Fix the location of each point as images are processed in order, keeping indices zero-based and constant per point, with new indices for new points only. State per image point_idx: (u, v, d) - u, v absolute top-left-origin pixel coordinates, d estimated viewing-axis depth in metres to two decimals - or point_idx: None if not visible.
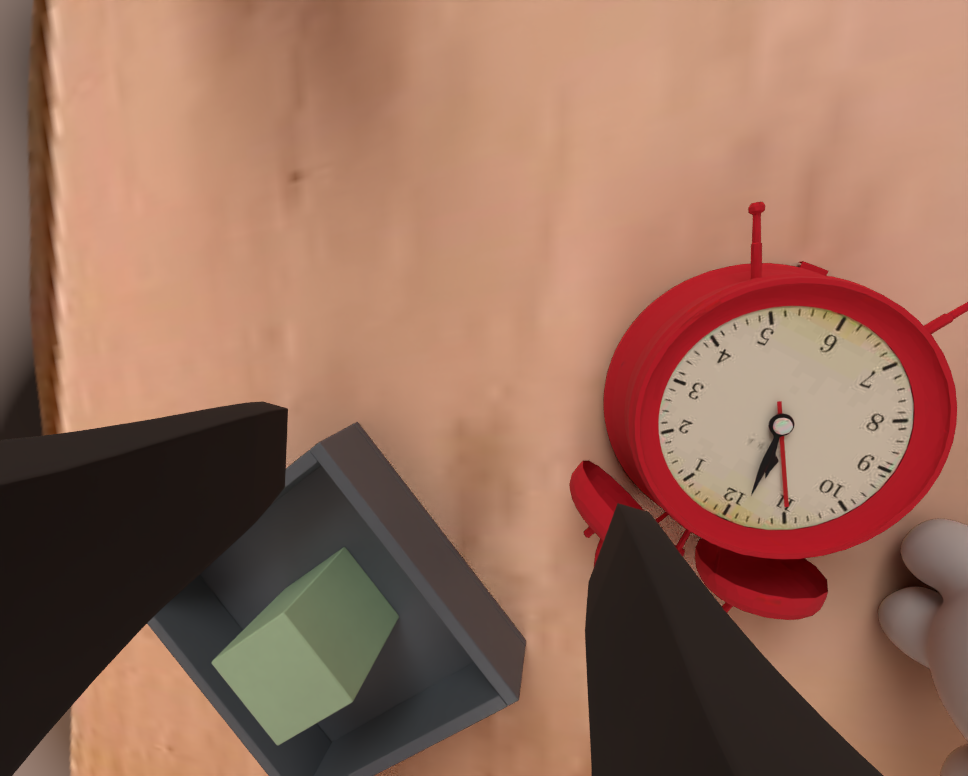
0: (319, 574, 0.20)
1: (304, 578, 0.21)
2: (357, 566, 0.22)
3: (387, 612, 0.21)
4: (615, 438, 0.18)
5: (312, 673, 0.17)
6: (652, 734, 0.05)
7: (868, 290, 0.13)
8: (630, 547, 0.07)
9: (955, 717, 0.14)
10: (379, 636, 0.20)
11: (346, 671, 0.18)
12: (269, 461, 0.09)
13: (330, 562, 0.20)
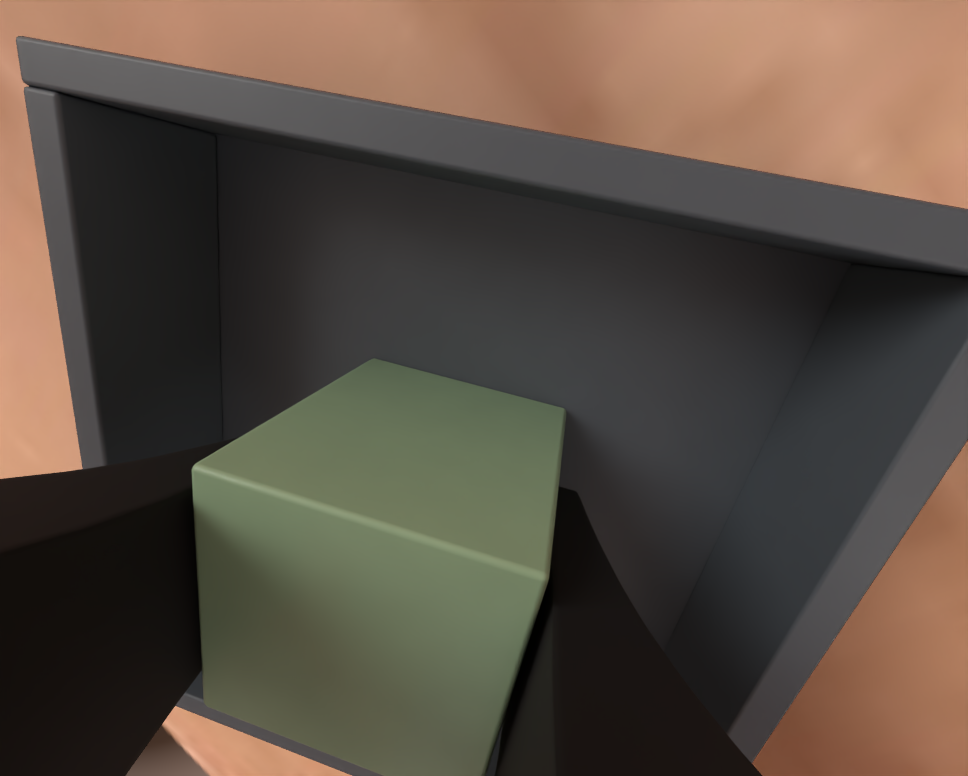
0: (314, 394, 0.08)
1: None
2: (417, 371, 0.10)
3: (532, 408, 0.09)
4: None
5: (386, 575, 0.05)
6: (529, 691, 0.05)
7: None
8: None
9: None
10: (539, 441, 0.08)
11: (482, 516, 0.05)
12: None
13: (342, 378, 0.09)
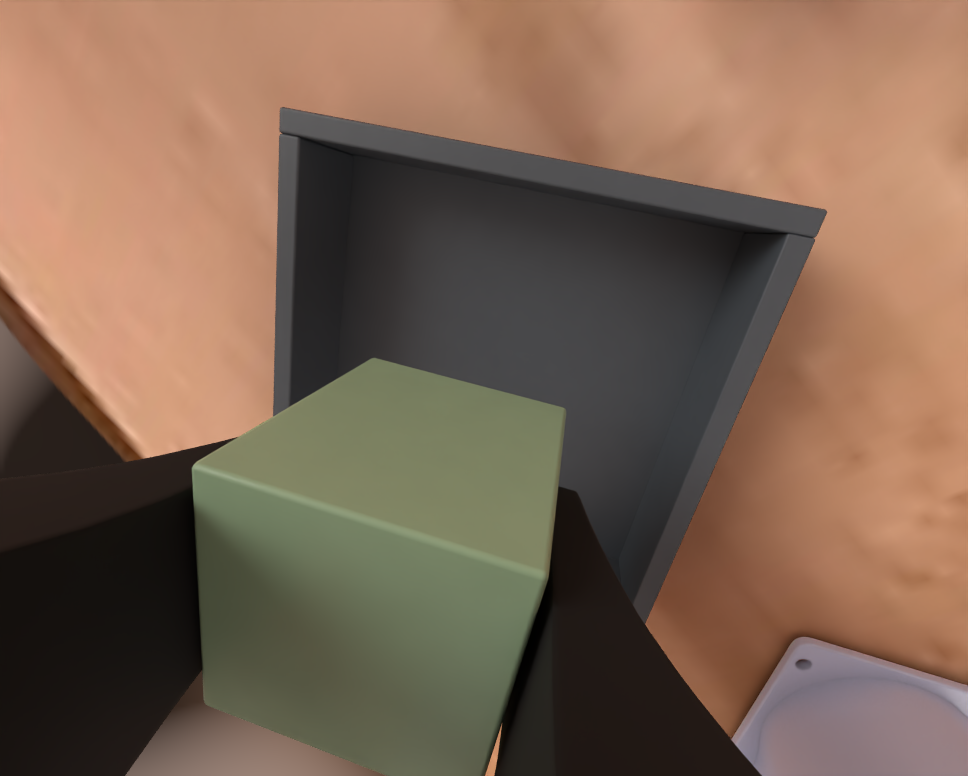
0: (314, 393, 0.08)
1: None
2: (416, 371, 0.10)
3: (531, 407, 0.09)
4: None
5: (385, 573, 0.05)
6: (529, 691, 0.05)
7: None
8: None
9: None
10: (538, 440, 0.08)
11: (481, 516, 0.05)
12: None
13: (342, 377, 0.09)
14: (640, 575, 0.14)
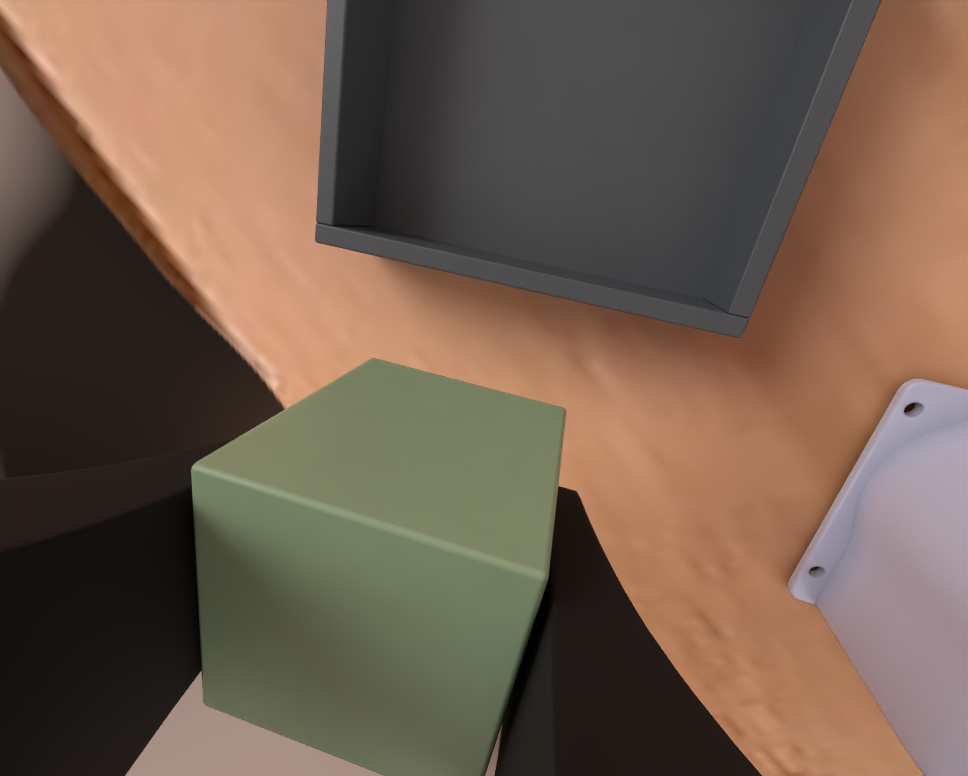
0: (314, 393, 0.08)
1: None
2: (416, 371, 0.10)
3: (531, 407, 0.09)
4: None
5: (385, 574, 0.05)
6: (529, 691, 0.05)
7: None
8: None
9: None
10: (538, 440, 0.08)
11: (481, 516, 0.05)
12: None
13: (342, 377, 0.09)
14: (748, 251, 0.12)
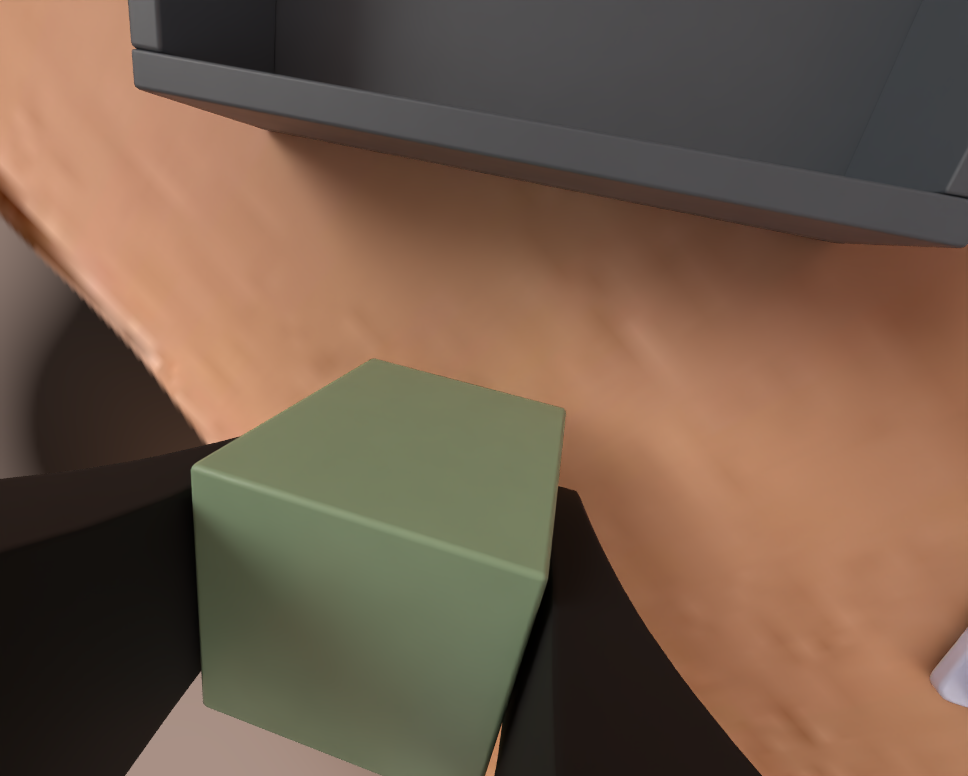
0: (314, 394, 0.08)
1: None
2: (416, 372, 0.10)
3: (531, 408, 0.09)
4: None
5: (385, 575, 0.05)
6: (529, 691, 0.05)
7: None
8: None
9: None
10: (538, 441, 0.08)
11: (481, 517, 0.05)
12: None
13: (342, 378, 0.09)
14: None
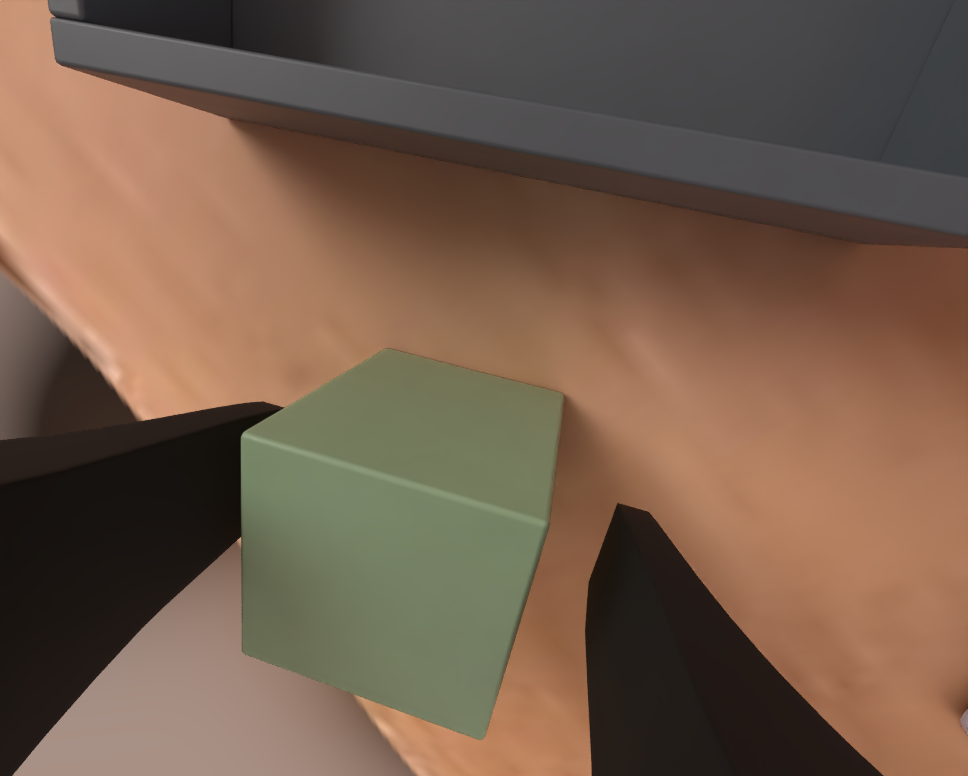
0: (337, 377, 0.09)
1: None
2: (427, 360, 0.10)
3: (532, 392, 0.10)
4: None
5: (409, 526, 0.06)
6: (652, 734, 0.05)
7: None
8: (630, 547, 0.07)
9: None
10: (539, 419, 0.09)
11: (491, 477, 0.06)
12: None
13: (360, 364, 0.10)
14: None
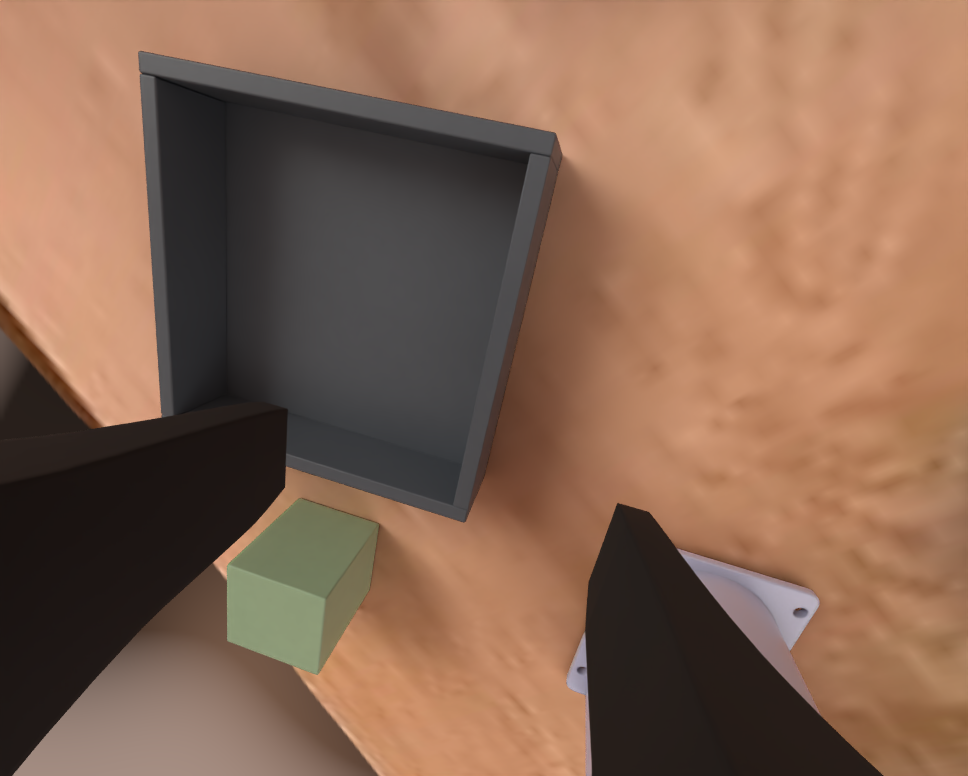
0: (269, 526, 0.20)
1: None
2: (317, 506, 0.22)
3: (361, 525, 0.22)
4: None
5: (283, 598, 0.18)
6: (652, 734, 0.05)
7: None
8: (630, 547, 0.07)
9: None
10: (353, 545, 0.20)
11: (314, 580, 0.18)
12: (269, 461, 0.09)
13: (282, 514, 0.21)
14: None
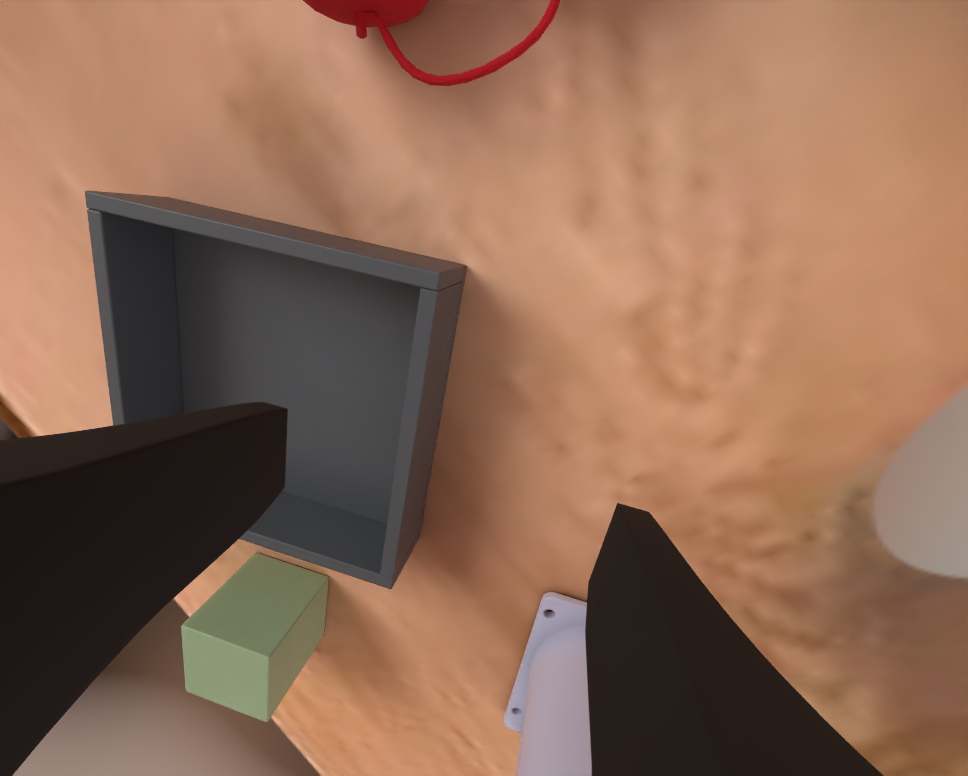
0: (225, 583, 0.22)
1: None
2: (272, 560, 0.24)
3: (312, 579, 0.24)
4: None
5: (232, 655, 0.20)
6: (652, 734, 0.05)
7: None
8: (630, 547, 0.07)
9: None
10: (302, 600, 0.22)
11: (260, 638, 0.20)
12: (269, 461, 0.09)
13: (238, 570, 0.23)
14: None
